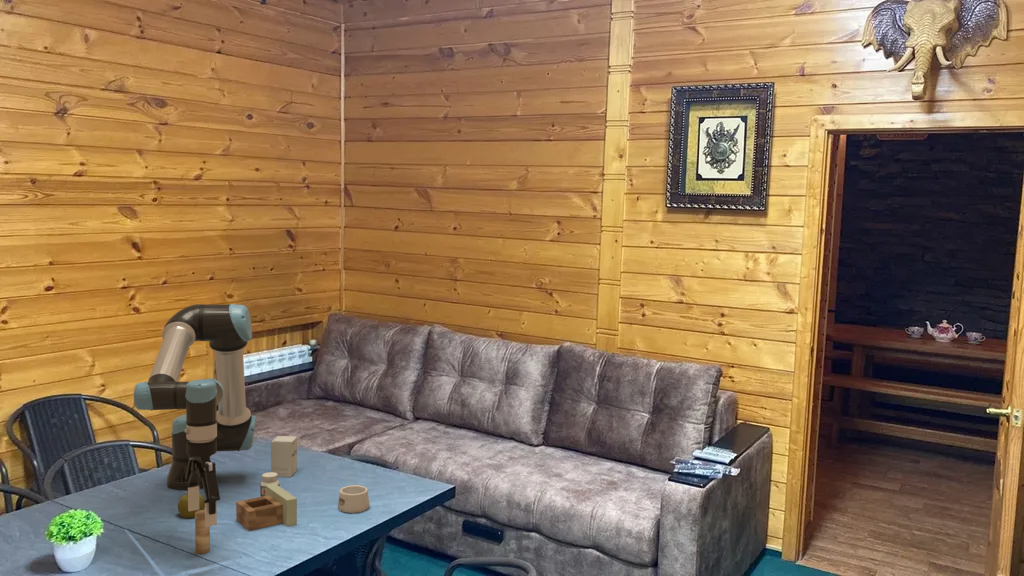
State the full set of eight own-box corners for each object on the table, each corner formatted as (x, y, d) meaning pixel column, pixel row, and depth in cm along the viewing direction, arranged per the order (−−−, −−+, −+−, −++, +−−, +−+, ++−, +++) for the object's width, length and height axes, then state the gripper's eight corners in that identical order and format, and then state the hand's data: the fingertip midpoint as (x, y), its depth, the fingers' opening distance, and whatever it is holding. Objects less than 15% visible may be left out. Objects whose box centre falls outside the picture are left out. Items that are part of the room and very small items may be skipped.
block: (236, 519, 234) (236, 501, 234) (269, 512, 241) (269, 494, 240) (249, 530, 227) (249, 512, 226) (282, 523, 233) (282, 504, 232)
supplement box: (291, 477, 277) (291, 441, 275) (270, 476, 277) (270, 441, 276) (297, 470, 284) (297, 435, 283) (276, 469, 284) (276, 435, 283)
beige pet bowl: (375, 508, 250) (375, 490, 249) (348, 516, 243) (349, 497, 242) (354, 498, 258) (354, 480, 258) (327, 505, 252) (328, 487, 251)
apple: (189, 525, 233) (188, 501, 232) (172, 519, 237) (171, 496, 236) (211, 517, 239) (211, 494, 238) (194, 511, 243) (193, 489, 243)
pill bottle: (273, 509, 247) (273, 478, 246) (256, 507, 248) (256, 476, 247) (282, 502, 252) (282, 472, 252) (266, 501, 254) (266, 470, 253)
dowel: (193, 555, 213) (193, 511, 212) (207, 551, 215) (206, 508, 214) (198, 560, 210) (197, 516, 209) (211, 556, 212) (211, 513, 211)
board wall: (180, 532, 227) (180, 502, 226) (274, 511, 245) (274, 483, 244) (199, 552, 215) (198, 519, 214) (296, 528, 233) (296, 498, 232)
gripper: (172, 431, 217) (173, 506, 219) (203, 452, 198) (203, 535, 199) (200, 427, 222) (200, 501, 223) (233, 447, 202) (233, 528, 204)
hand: (202, 517), depth 211 cm, fingers open, 13 cm apart
